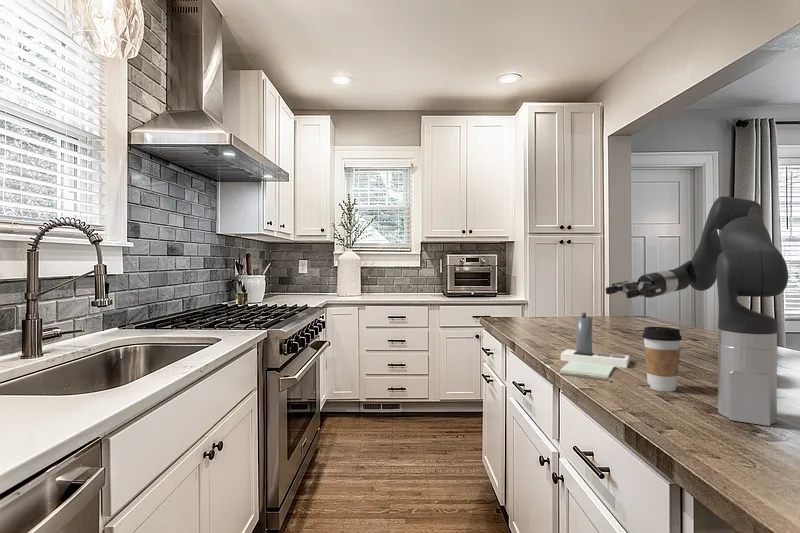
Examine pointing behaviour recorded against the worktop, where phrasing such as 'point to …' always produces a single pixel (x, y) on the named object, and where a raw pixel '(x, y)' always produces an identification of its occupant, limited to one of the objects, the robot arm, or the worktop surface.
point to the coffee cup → (662, 357)
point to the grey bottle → (584, 335)
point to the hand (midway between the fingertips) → (616, 292)
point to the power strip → (596, 358)
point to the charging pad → (587, 370)
